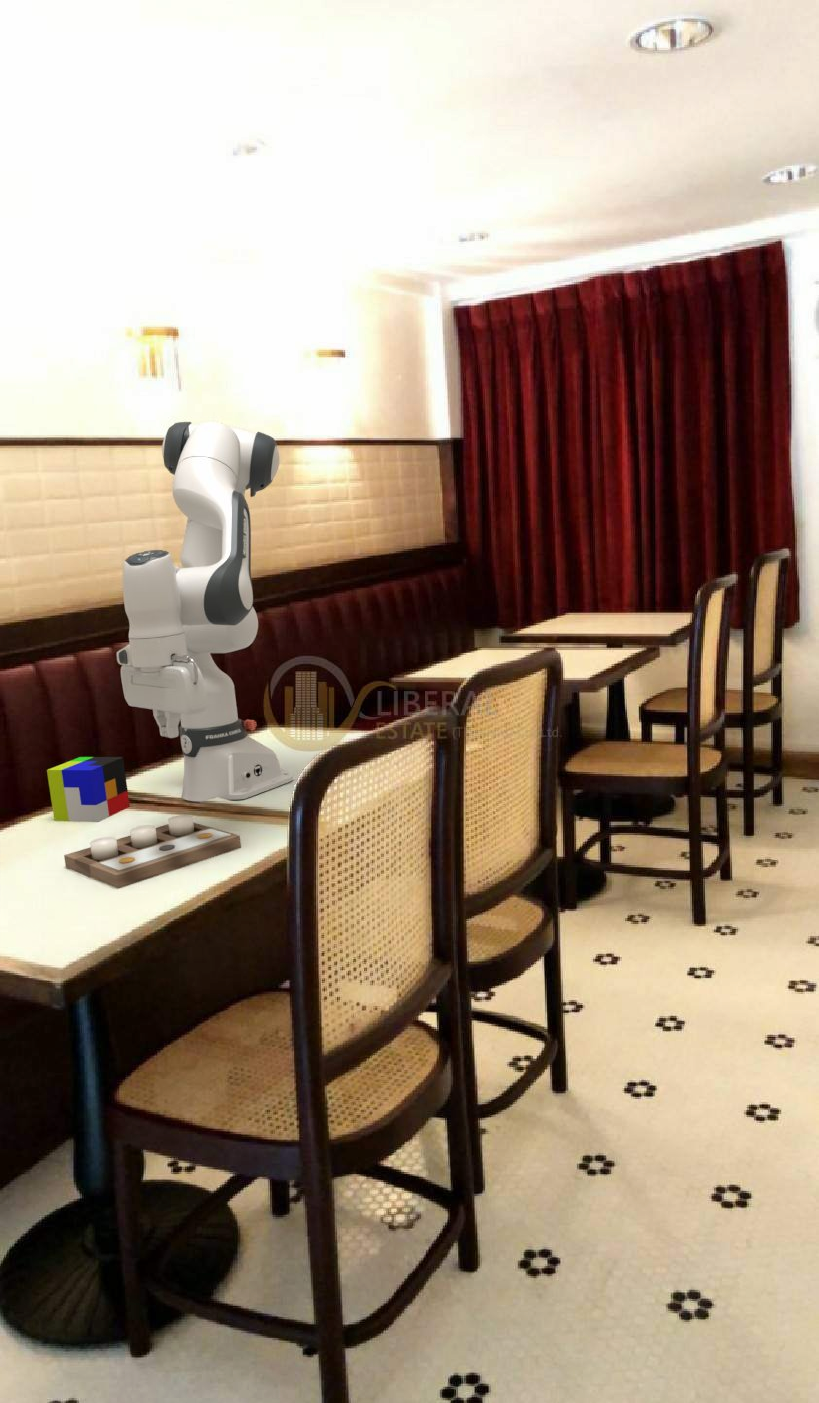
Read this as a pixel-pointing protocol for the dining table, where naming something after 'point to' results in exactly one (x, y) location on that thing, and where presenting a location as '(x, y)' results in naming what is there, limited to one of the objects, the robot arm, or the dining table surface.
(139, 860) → the console
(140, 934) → the dining table surface
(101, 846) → the button
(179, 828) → the button
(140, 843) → the middle button
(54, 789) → the puzzle toy
